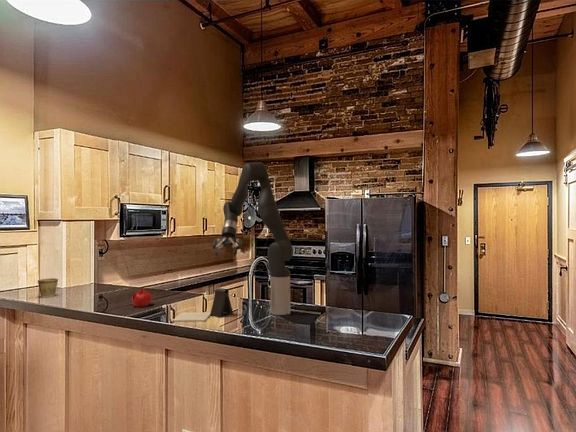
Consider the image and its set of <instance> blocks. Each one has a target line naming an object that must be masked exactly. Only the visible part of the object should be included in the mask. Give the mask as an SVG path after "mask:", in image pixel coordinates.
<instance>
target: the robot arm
mask: <svg viewBox="0 0 576 432" xmlns="http://www.w3.org/2000/svg"><path fill="white" fill-rule="evenodd" d="M267 169H268V168H267V167H266V165H265V164H264V163H263V162H261V161H255V162H254V161H251V162H246V163H245V164H244V166H243V167H242V169H241V172H240V176H239V180H238V183H237V186H236V189H235V192H234V193H233V195H232V197H231V199H230V200H229V201H228V200H227V201H226V202H224V204H223V207H222V208H223V209H222V210H223V214H224V220H223V221H224V222H223V225H222V230H221V233H220V234H221V235H220V237H219V238H217V236H215V237H214V239H213V243H212V249H213V250H214V253H215V255H216V256H217V257H218V256H219V253H220V252H219V251H220V249H222V248H223V247H232V249H233V256H235V257H236V255H237V254H238V250H242V243H243V241H242V237H239V238H237V234H238V222H239V217H240V216H241V215H242V214H243V209H244V204H245V202H246V200H247V199H248V198H249V197H248V196H249V188H248V186H247V185H248V184H249V183H250V182H258V183H259V187H260V193H259V198H258V201H257V209H258V213H259V217H260V219H261V221H262V223H263V224H264V225H265V227H266V228H267V229H268V231H269V232H270V233H271V235H272V237H273V238H274V242H272V243H270V244H269V246H268V249H267V262H268V264H267V265H268V271H269V273H270V280H269V281H270V314H272V315H275V316H285V315H291V270H290V268H287V267H286V265H285V264H286V263H285V262H286V261H290V260H291V259H292V258H293V255H294V248H293V246H292V243H291V240H290V238H289V236H288V234H287V231H286V229H285V225H284V223H283V220H282V218H281V215H280V211H279V208H278V205H277V202H276V199H275V196H274V193H273V190H272V186H271V182H270V178H269V173H268V170H267ZM236 243H238V245H237V244H236Z"/></svg>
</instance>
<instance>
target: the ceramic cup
mask: <svg viewBox="0 0 576 432" xmlns="http://www.w3.org/2000/svg"><path fill="white" fill-rule="evenodd" d="M58 282H59V281H58V278H51V277H50V278H41V279H38V280H37V284H38V285H37V286H38V289H39V293H40V298H41V299H48V298H53V297H55V296H56V291H57V286H58Z"/></svg>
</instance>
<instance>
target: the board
mask: <svg viewBox="0 0 576 432" xmlns="http://www.w3.org/2000/svg"><path fill="white" fill-rule="evenodd" d="M210 313H211V311H209V312H208V311H207V312H199V311H198V312H191V311H190V312H186V311H185V312H183V311H182V312H180V314H178V315H177V316H176V317H175V318H173V319H172V322H183V323H184V322H187V323H188V322H206V321H207V320H208V319H209V317H211V316H210Z"/></svg>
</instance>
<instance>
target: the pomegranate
mask: <svg viewBox="0 0 576 432" xmlns="http://www.w3.org/2000/svg"><path fill="white" fill-rule="evenodd" d="M133 293H135V294H133V295H132V297H131V303H132V305H133V306H134V307H137V308H144V307H147V306H150V304H151V303H152V302H153V301H152V300H153V295H152V293H150V292H149V290H148V289H144V287H141V288H140V290H138V291H136V290H135V291H134V292H133Z"/></svg>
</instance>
